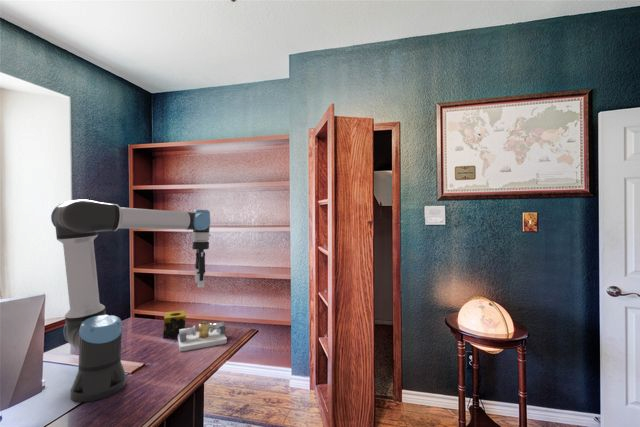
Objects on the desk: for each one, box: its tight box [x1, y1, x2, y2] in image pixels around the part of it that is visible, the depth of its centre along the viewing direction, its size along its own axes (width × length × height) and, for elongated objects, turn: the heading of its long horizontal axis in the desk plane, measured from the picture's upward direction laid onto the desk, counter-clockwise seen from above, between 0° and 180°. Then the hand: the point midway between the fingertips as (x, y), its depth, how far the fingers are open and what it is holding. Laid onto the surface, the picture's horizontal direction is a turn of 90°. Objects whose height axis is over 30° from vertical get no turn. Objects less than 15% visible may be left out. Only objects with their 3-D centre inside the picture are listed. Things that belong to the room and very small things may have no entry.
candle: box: [162, 310, 187, 339], centre depth 151 cm, size 10×10×10 cm
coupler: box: [198, 320, 210, 338], centre depth 143 cm, size 5×5×7 cm
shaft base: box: [177, 325, 228, 352], centre depth 142 cm, size 20×16×8 cm
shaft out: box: [209, 321, 226, 335], centre depth 146 cm, size 7×5×6 cm
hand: (199, 284), depth 145 cm, fingers open, 13 cm apart
